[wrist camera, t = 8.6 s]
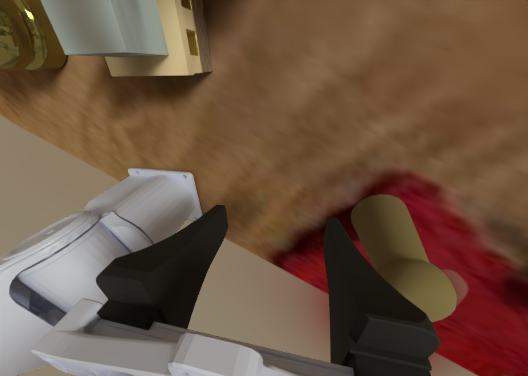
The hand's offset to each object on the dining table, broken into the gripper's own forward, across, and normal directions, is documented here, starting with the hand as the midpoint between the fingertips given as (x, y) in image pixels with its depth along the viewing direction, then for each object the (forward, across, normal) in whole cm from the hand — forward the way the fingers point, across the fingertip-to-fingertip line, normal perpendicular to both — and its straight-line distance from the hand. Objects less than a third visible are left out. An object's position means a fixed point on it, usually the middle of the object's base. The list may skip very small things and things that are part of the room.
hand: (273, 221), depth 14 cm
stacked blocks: (+8, +11, -12) cm, 18 cm away
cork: (+10, -11, +6) cm, 16 cm away
